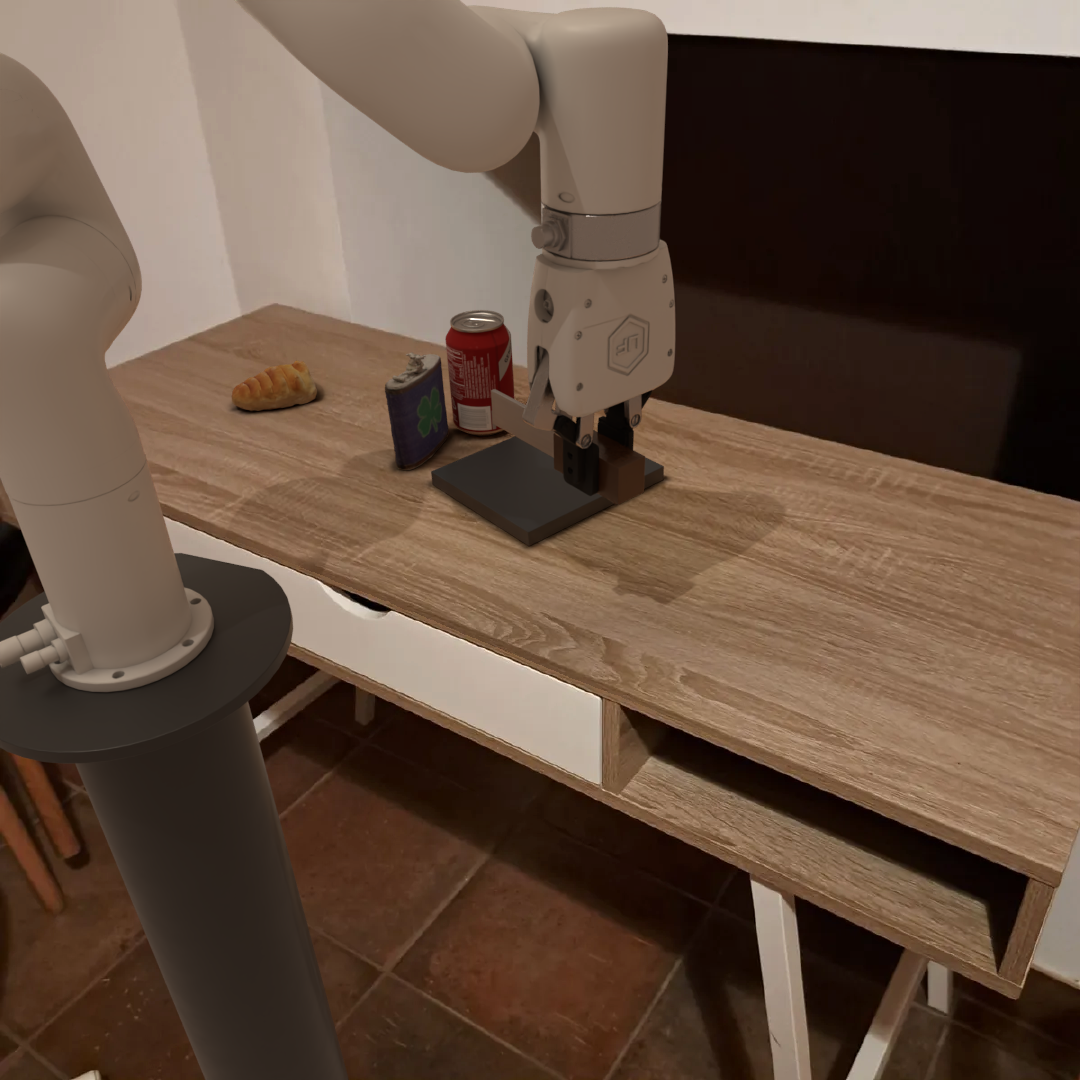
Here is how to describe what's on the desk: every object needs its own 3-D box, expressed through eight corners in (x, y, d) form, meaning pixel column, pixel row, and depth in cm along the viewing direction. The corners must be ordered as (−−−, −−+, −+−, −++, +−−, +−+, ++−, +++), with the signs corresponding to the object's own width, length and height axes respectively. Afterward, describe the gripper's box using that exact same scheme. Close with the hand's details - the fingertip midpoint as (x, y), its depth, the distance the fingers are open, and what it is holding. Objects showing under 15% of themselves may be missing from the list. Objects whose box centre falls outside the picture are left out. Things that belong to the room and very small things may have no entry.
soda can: (495, 444, 106) (487, 336, 99) (441, 432, 109) (430, 326, 102) (527, 418, 111) (522, 313, 104) (475, 406, 113) (467, 304, 107)
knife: (644, 492, 73) (645, 456, 71) (617, 505, 71) (618, 468, 70) (507, 418, 83) (505, 384, 81) (481, 427, 82) (479, 394, 80)
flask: (432, 428, 109) (422, 334, 103) (457, 432, 108) (448, 338, 102) (390, 468, 102) (376, 370, 96) (415, 473, 101) (403, 374, 95)
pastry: (242, 421, 113) (235, 389, 111) (226, 399, 118) (219, 369, 116) (322, 400, 116) (317, 369, 114) (304, 380, 121) (298, 350, 119)
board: (528, 546, 90) (528, 532, 89) (432, 484, 99) (430, 471, 98) (663, 479, 98) (664, 466, 98) (562, 428, 108) (562, 416, 107)
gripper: (539, 271, 57) (545, 541, 68) (731, 215, 66) (711, 462, 76) (462, 242, 62) (479, 498, 72) (650, 193, 71) (641, 428, 81)
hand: (597, 478), depth 74 cm, fingers closed on knife, 2 cm apart
